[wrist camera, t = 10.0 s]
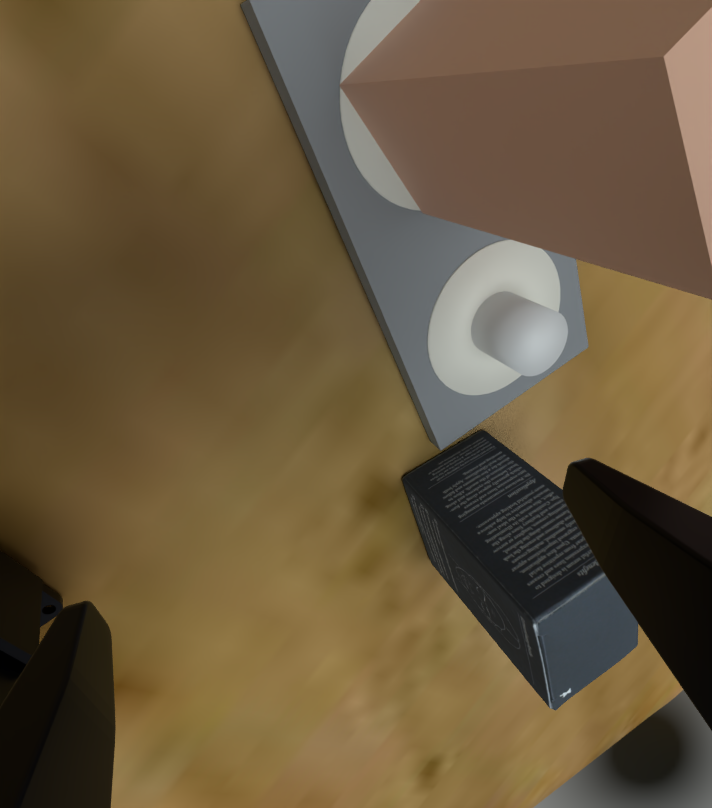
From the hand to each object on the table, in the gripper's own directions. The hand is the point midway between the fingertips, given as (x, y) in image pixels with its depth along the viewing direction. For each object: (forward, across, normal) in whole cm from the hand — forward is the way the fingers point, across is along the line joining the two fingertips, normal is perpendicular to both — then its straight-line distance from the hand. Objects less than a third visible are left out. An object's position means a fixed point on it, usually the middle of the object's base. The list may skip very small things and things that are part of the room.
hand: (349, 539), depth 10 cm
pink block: (+14, -8, -4) cm, 17 cm away
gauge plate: (+15, -9, 0) cm, 17 cm away
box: (+13, -8, +16) cm, 23 cm away
